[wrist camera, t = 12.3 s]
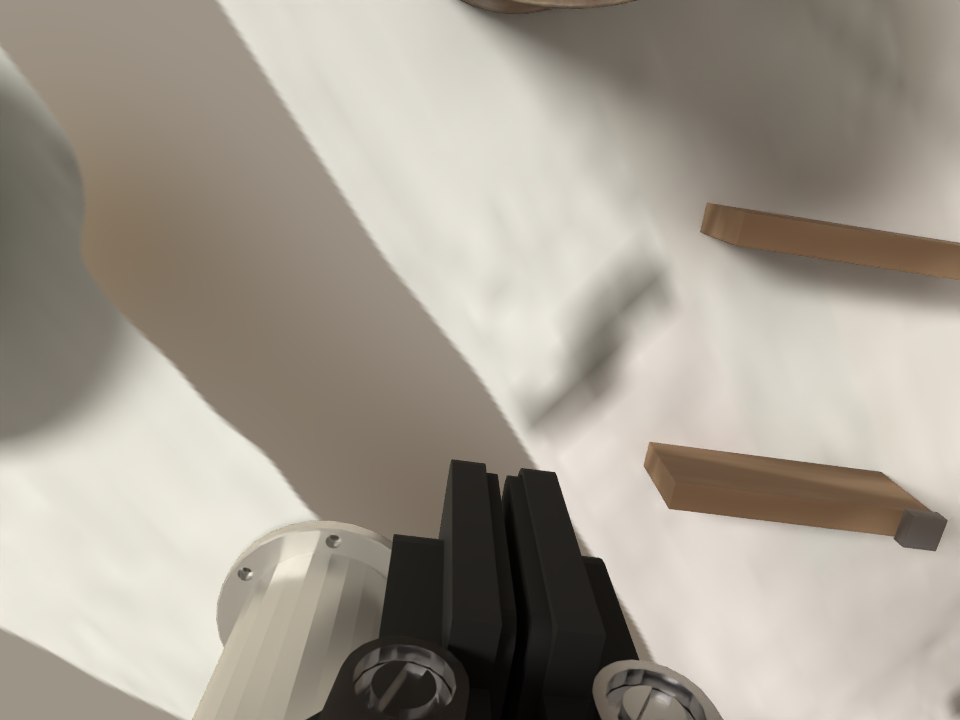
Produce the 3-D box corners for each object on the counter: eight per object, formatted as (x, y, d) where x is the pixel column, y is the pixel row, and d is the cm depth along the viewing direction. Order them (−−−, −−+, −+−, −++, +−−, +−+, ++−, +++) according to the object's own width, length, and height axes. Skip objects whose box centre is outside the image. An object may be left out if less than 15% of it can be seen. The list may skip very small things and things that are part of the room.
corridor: (872, 497, 42) (935, 551, 37) (643, 468, 41) (672, 519, 36) (961, 240, 38) (1049, 257, 32) (708, 200, 37) (753, 210, 31)
